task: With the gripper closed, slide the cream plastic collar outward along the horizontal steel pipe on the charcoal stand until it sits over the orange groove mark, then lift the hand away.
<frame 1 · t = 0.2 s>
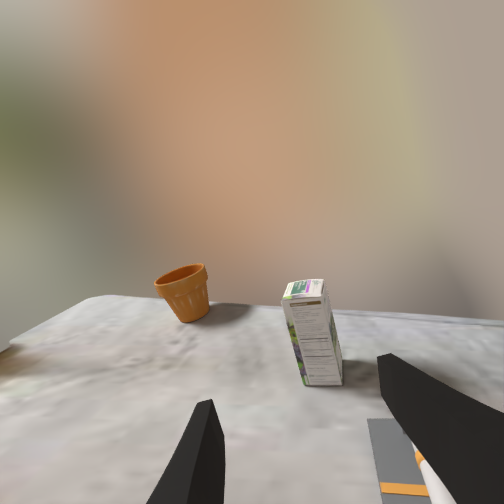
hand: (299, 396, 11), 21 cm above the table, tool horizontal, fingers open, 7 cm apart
flower pot: (195, 314, 75), on the table
syrup box: (324, 373, 40), on the table
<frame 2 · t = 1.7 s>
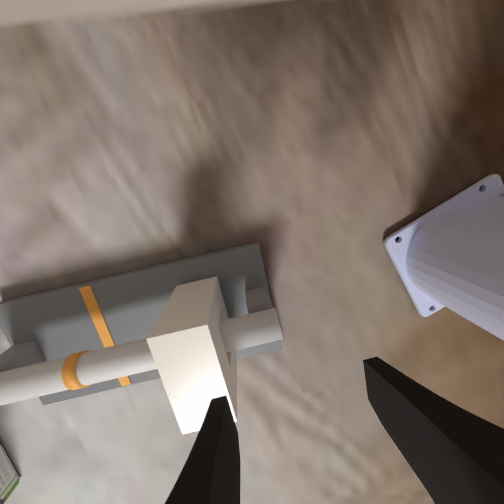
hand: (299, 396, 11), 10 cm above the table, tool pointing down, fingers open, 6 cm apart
pipe stand: (149, 322, 21), on the table
collar: (202, 343, 16), point 5 cm above the table, slide at 0.0 cm
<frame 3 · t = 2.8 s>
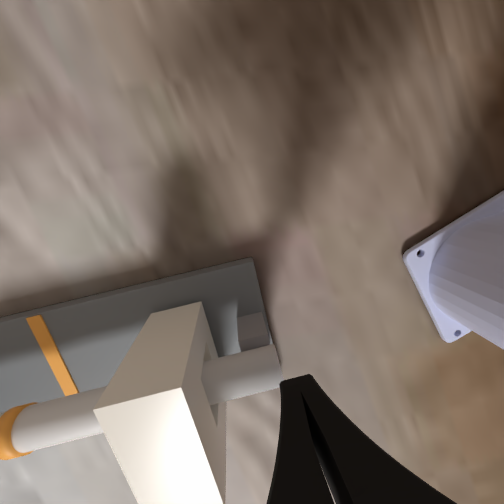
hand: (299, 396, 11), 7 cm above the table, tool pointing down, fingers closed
pipe stand: (119, 356, 17), on the table
collar: (181, 392, 13), point 5 cm above the table, slide at 0.0 cm
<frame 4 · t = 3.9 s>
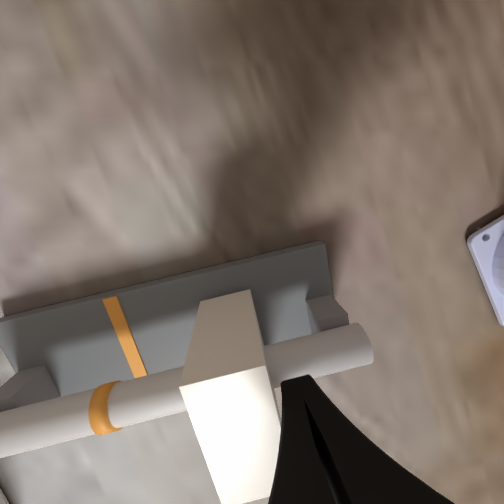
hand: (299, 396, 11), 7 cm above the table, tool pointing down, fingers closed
pipe stand: (184, 339, 17), on the table
collar: (239, 377, 13), point 5 cm above the table, slide at 1.5 cm, touching gripper
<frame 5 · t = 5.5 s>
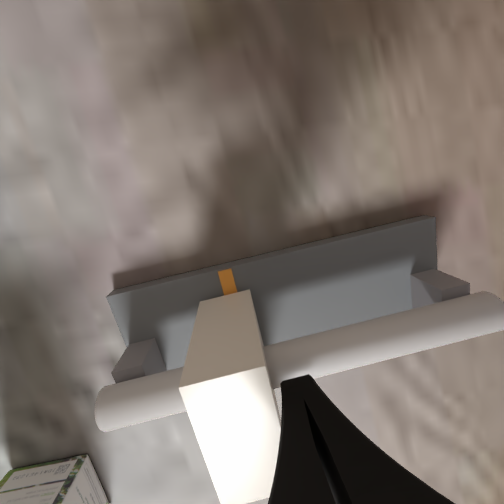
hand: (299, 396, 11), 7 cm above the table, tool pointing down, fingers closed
pipe stand: (284, 315, 17), on the table
syrup box: (64, 483, 20), on the table
collar: (238, 378, 13), point 5 cm above the table, slide at 8.3 cm, touching gripper
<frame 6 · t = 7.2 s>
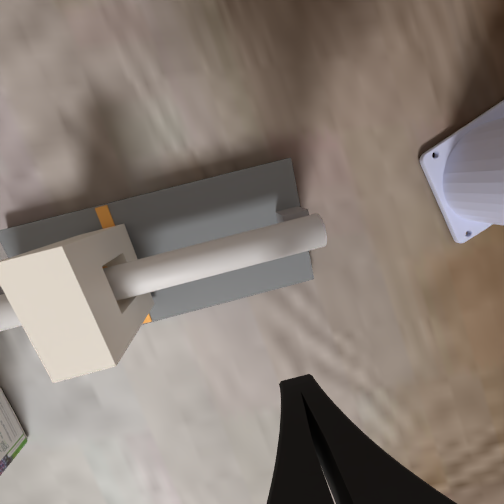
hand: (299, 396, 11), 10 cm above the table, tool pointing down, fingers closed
pipe stand: (170, 253, 19), on the table
collar: (94, 289, 15), point 5 cm above the table, slide at 8.3 cm
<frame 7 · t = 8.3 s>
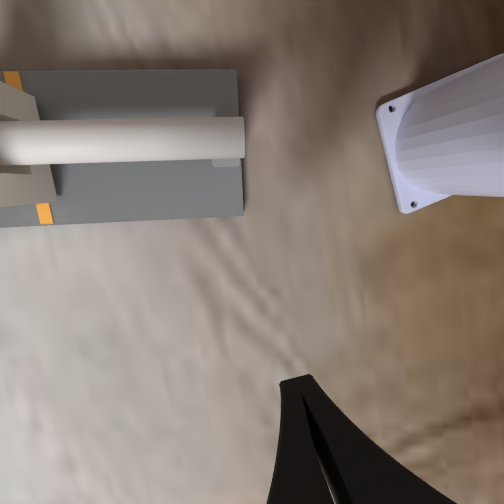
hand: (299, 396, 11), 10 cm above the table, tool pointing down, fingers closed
pipe stand: (89, 153, 17), on the table
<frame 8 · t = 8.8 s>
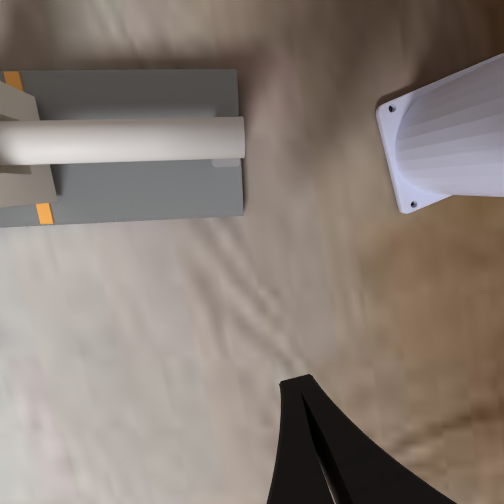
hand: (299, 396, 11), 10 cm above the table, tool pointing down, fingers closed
pipe stand: (89, 153, 17), on the table
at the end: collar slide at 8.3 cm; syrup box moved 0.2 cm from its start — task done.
